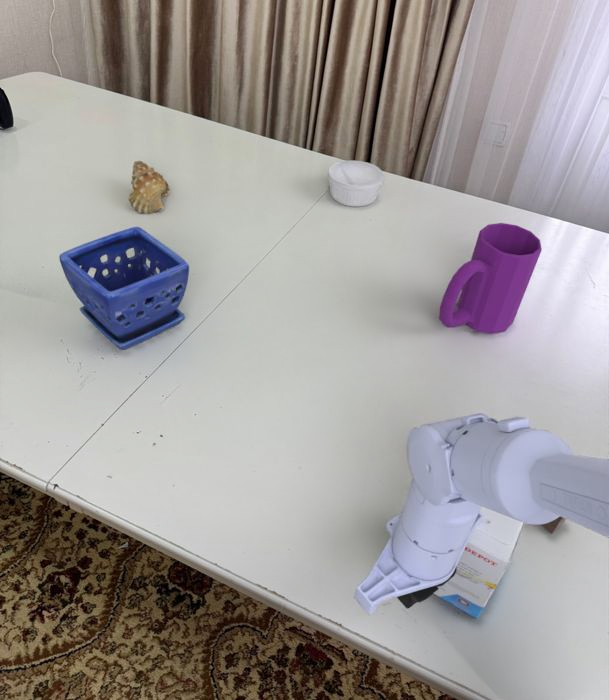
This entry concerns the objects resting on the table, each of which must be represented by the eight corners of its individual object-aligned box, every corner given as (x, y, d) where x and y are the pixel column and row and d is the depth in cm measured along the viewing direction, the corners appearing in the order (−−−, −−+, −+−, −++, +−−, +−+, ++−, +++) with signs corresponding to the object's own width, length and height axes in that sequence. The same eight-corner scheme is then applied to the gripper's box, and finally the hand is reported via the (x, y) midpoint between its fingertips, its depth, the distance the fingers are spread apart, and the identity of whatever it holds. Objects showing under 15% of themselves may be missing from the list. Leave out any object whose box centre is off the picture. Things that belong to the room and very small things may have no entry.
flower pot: (146, 285, 101) (137, 221, 93) (195, 326, 94) (191, 261, 86) (70, 319, 94) (54, 252, 85) (119, 366, 87) (106, 299, 79)
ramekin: (314, 194, 127) (316, 170, 123) (349, 177, 133) (352, 154, 130) (357, 216, 122) (360, 192, 118) (390, 197, 128) (395, 174, 125)
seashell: (121, 216, 121) (111, 163, 119) (159, 211, 126) (150, 160, 124) (142, 214, 114) (132, 158, 112) (181, 209, 119) (172, 155, 117)
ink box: (503, 558, 69) (537, 498, 61) (477, 621, 64) (510, 564, 56) (433, 520, 72) (457, 458, 64) (402, 577, 67) (424, 517, 59)
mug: (523, 324, 100) (555, 245, 90) (455, 357, 93) (481, 276, 83) (482, 293, 106) (508, 216, 96) (414, 322, 99) (434, 243, 89)
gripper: (455, 452, 58) (426, 529, 67) (338, 533, 51) (323, 607, 60) (516, 505, 54) (476, 579, 64) (398, 600, 47) (372, 669, 56)
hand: (405, 597), depth 62 cm, fingers closed
